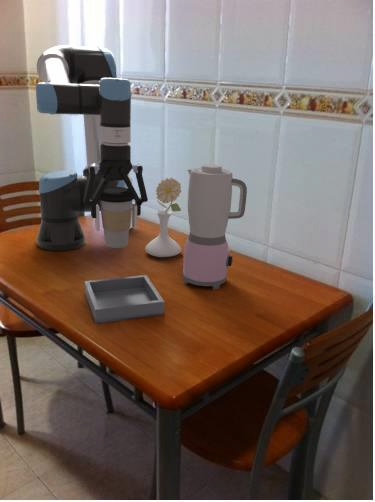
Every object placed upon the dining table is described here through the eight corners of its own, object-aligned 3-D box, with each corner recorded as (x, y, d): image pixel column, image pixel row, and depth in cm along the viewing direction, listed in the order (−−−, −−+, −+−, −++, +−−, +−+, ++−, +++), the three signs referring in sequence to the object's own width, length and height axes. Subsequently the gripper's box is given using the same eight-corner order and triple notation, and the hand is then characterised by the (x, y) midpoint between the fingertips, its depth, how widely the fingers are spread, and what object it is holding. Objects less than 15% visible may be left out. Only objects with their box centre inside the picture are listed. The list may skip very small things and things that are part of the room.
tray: (85, 293, 117) (84, 281, 116) (146, 287, 122) (146, 275, 121) (95, 323, 103) (95, 309, 102) (163, 314, 108) (164, 301, 107)
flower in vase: (137, 252, 146) (138, 174, 138) (165, 245, 154) (167, 171, 145) (163, 265, 137) (165, 182, 129) (191, 257, 145) (195, 178, 136)
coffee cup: (127, 252, 120) (127, 196, 115) (93, 247, 122) (91, 192, 116) (138, 240, 129) (138, 188, 123) (106, 236, 130) (105, 184, 125)
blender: (177, 286, 123) (181, 167, 112) (187, 270, 134) (192, 160, 123) (235, 294, 120) (246, 173, 109) (241, 277, 131) (251, 165, 120)
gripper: (72, 145, 109) (76, 235, 117) (161, 145, 116) (159, 229, 124) (69, 141, 115) (72, 226, 123) (153, 141, 122) (151, 221, 130)
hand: (116, 228), depth 124 cm, fingers closed on coffee cup, 9 cm apart
